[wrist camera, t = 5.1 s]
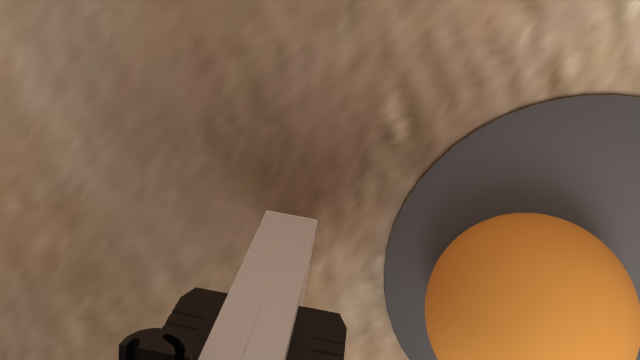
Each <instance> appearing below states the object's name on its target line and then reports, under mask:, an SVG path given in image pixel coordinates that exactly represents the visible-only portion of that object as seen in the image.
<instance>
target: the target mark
mask: <svg viewBox="0 0 640 360" xmlns="http://www.w3.org/2000/svg"><path fill="white" fill-rule="evenodd" d="M511 213H538V214H546V215H549V216H553V217H557V218H561V219H564V220H566V221H569V222H571V223H573V224H575V225H577V226H579V227H582V228H583V229H585V230H586V231H588V232H590V233H591V234H593V235H594V236H595V237H597V238H598V239H599V240H601V241H602V242H603V243H604V244H605V245H606V246H607V247H608V248H609V249H610V250H611V251H612V252H613V253H614V254H615V255H616V257H617V258H618V259H619V261H620V262H621V263H622V265H623V266H624V268H625V269H626V271H627V272H628V274H629V276H630V278H631V280H632V283H633V285H634V287H635V290H636V292H637V296H638V299H639V304H640V97H635V96H626V95H617V94H593V95H579V96H571V97H564V98H557V99H553V100H549V101H545V102H541V103H537V104H533V105H530V106H526V107H524V108H521V109H519V110H516V111H514V112H511V113H509V114H506V115H503V116H501V117H499V118H497V119H495V120H493V121H491V122H490V123H488V124H486V125H484V126H482V127H480V128H478V129H477V130H475V131H473V132H472V133H471V134H469V135H468V136H466V137H465V138H464V139H462V140H461V141H459V142H458V143H456V144H455V145H454V146H452V147H451V148H450V149H449V150H448V151H447V152H446V153H445V154H444V155H442V156H441V157H440V158H439V159H438V160H437V161H436V162H435V163H434V164H433V165H432V166H431V167H430V168H429V169H428V171H427V172H426V173H425V174H424V175H423V176H422V178H421V179H420V180H419V181H418V182H417V184H416V185H415V187H414V188H413V190H412V191H411V193H410V194H409V196H408V198H407V199H406V201H405V202H404V204H403V206H402V208H401V210H400V212H399V215H398V217H397V219H396V221H395V223H394V226H393V229H392V232H391V236H390V239H389V242H388V245H387V252H386V258H385V265H384V292H385V299H386V305H387V311H388V315H389V318H390V321H391V324H392V327H393V330H394V333H395V335H396V337H397V339H398V341H399V343H400V345H401V347H402V349H403V350H404V352H405V353H406V355H407V356H408V358H409V359H410V360H438V359H437V357H436V355H435V353H434V351H433V348H432V346H431V343H430V340H429V337H428V333H427V327H426V320H425V296H426V290H427V286H428V283H429V279H430V276H431V273H432V271H433V269H434V267H435V264H436V263H437V261H438V259H439V258H440V256H441V255H442V253H443V252H444V251H445V250H446V248H447V247H448V246H449V245H450V244H451V243H452V242H453V241H454V240H455V239H456V238H457V237H458V236H459V235H460V234H462V233H463V232H464V231H466V230H467V229H469V228H470V227H472V226H474V225H476V224H478V223H480V222H482V221H485V220H487V219H490V218H493V217H496V216H500V215H505V214H511ZM636 360H640V348H639V351H638V355H637V358H636Z"/></svg>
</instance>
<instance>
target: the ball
mask: <svg viewBox="0 0 640 360" xmlns="http://www.w3.org/2000/svg"><path fill="white" fill-rule="evenodd" d="M425 320H426V327H427V333H428V337H429V340H430V343H431V346H432V348H433V351H434V353H435V355H436V357H437V359H438V360H636V358H637V355H638V351H639V348H640V304H639V299H638V296H637V292H636V290H635V287H634V285H633V283H632V280H631V278H630V276H629V274H628V272H627V271H626V269H625V268H624V266H623V265H622V263H621V262H620V261H619V259H618V258H617V257H616V255H615V254H614V253H613V252H612V251H611V250H610V249H609V248H608V247H607V246H606V245H605V244H604V243H603V242H602V241H601V240H599V239H598V238H597V237H595V236H594V235H593V234H591V233H590V232H588V231H586V230H585V229H583V228H582V227H579V226H577V225H575V224H573V223H571V222H569V221H566V220H564V219H561V218H557V217H553V216H549V215H546V214H538V213H511V214H505V215H500V216H496V217H493V218H490V219H487V220H485V221H482V222H480V223H478V224H476V225H474V226H472V227H470V228H469V229H467V230H466V231H464V232H463V233H462V234H460V235H459V236H458V237H457V238H456V239H455V240H454V241H453V242H452V243H451V244H450V245H449V246H448V247H447V248H446V250H445V251H444V252H443V253H442V255H441V256H440V258H439V259H438V261H437V263H436V264H435V267H434V269H433V271H432V273H431V276H430V279H429V283H428V286H427V290H426V296H425Z"/></svg>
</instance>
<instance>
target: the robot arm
mask: <svg viewBox="0 0 640 360" xmlns="http://www.w3.org/2000/svg"><path fill="white" fill-rule="evenodd" d="M317 223H318V220H317V219H312V218H307V217H301V216H296V215H291V214H285V213H280V212H275V211H269V210H266V212H265V214H264V217H263V219H262V221H261V223H260V225H259V228H258V230H257V232H256V234H255V236H254V238H253V241H252V243H251V245H250V247H249V249H248V252H247V254H246V256H245V258H244V260H243V262H242V265H241V267H240V269H239V271H238V273H237V276H236V278H235V280H234V282H233V284H232V287H231V289H230V291H229V293H228V294H227V293H222V292H217V291H212V290H206V289H201V288H194V289H193V290H191V291H190V292H188V293H187V294H185V295H184V296H182V297H181V298H180V299H179V301H178V303H177V304H176V306H175V308H174V309H173V311H172V314H170V316H169V318H168V319H167V321H166V324H165V325H164V326H163V328H162V329H161V328H151V329H145V330H140V331H138V332H135V333H133V334H131V335H129V336H127V337H126V338H125V339H124V340H123V341H122V342H121V343H120V344H119V360H344V351H345V341H346V330H347V328H346V326H345V324H344V322H343V320H342V318H341V316H340V314H339V313H333V312H328V311H323V310H318V309H313V308H307V307H303V303H304V298H305V292H306V286H307V281H308V275H309V269H310V263H311V258H312V252H313V246H314V240H315V234H316V229H317Z"/></svg>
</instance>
